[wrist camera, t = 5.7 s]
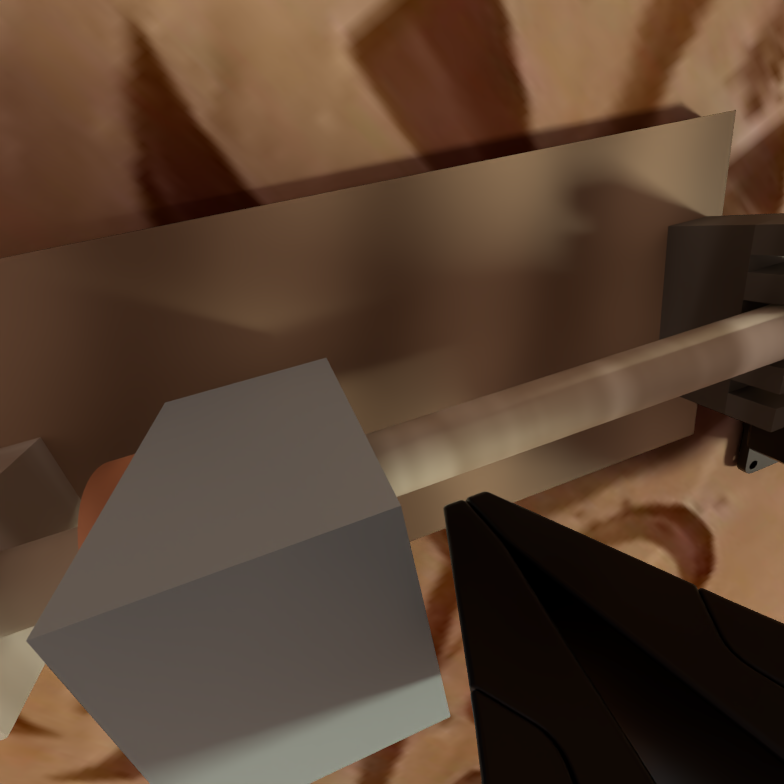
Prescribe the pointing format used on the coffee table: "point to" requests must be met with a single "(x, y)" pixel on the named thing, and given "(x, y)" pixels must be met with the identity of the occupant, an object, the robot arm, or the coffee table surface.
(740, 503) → the coffee table surface
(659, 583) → the robot arm
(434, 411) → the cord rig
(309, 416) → the sleeve
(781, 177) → the coffee table surface
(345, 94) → the coffee table surface
